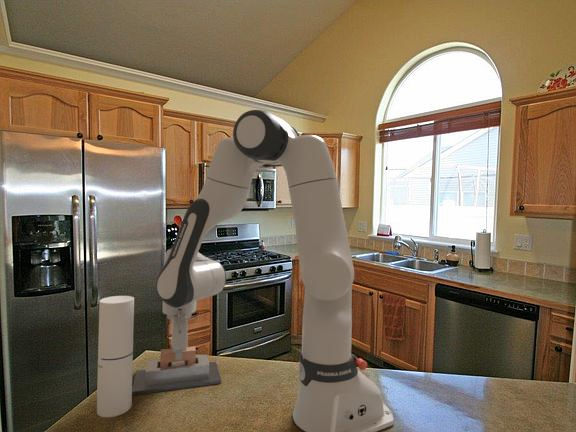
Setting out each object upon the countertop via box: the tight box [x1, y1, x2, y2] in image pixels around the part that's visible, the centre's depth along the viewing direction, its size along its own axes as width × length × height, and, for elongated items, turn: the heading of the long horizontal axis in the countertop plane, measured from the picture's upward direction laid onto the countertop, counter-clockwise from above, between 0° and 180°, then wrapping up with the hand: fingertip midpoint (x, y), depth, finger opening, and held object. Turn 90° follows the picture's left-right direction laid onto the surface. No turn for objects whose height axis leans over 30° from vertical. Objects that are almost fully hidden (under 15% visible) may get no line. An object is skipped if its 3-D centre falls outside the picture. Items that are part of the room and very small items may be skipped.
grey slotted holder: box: [132, 354, 222, 396], centre depth 93 cm, size 22×12×4 cm, turn 109°
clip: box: [159, 345, 197, 368], centre depth 93 cm, size 9×3×7 cm, turn 108°
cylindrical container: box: [96, 295, 135, 418], centre depth 78 cm, size 7×7×25 cm
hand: (178, 355), depth 93 cm, fingers open, 3 cm apart
